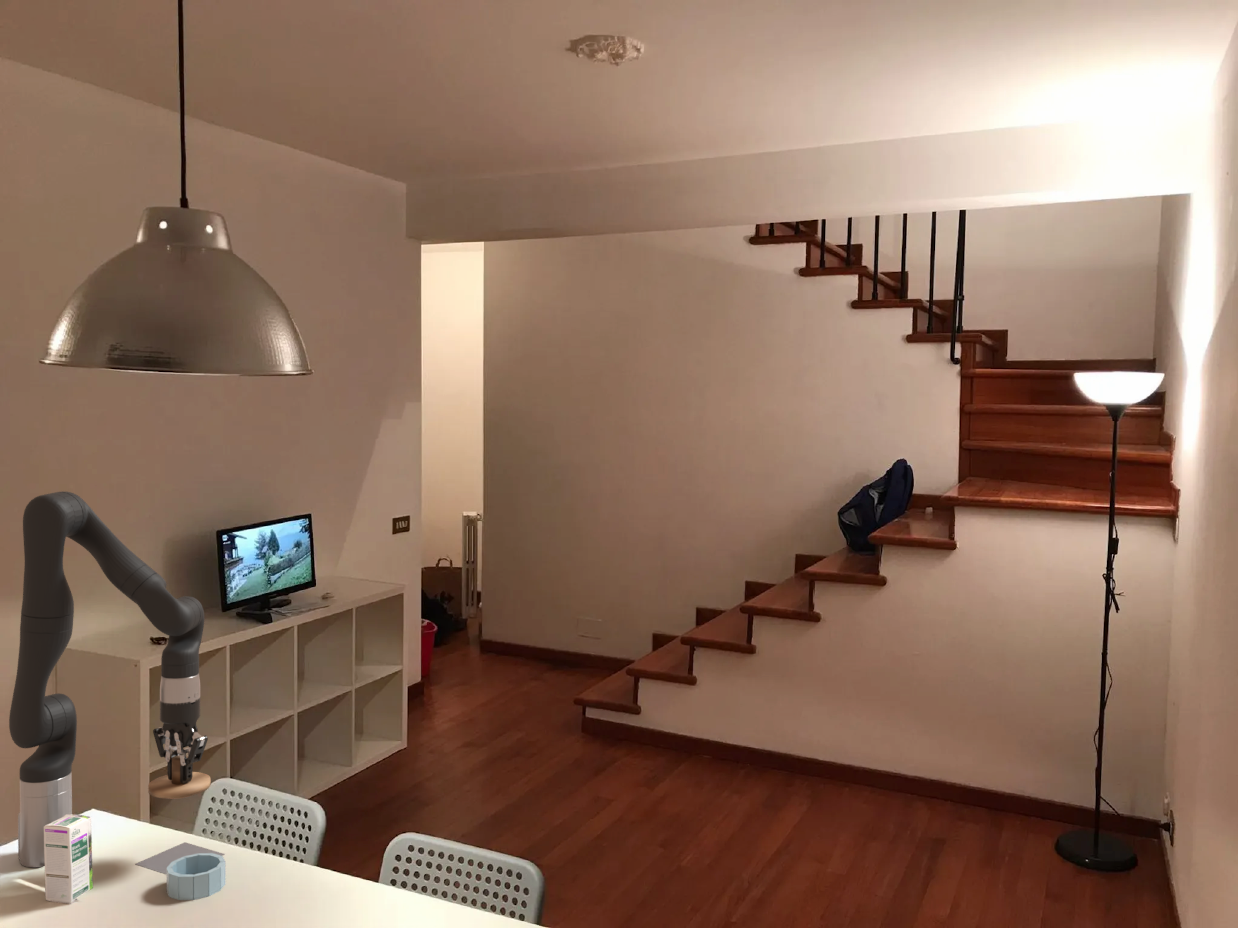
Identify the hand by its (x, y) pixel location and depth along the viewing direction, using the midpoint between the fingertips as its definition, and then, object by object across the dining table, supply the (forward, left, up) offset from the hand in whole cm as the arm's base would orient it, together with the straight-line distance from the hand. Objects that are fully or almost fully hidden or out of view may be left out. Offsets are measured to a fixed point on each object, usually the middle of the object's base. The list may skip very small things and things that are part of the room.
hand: (180, 779), depth 203 cm
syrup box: (-6, -20, -17) cm, 27 cm away
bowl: (+13, -7, -17) cm, 22 cm away
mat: (0, 0, -17) cm, 17 cm away
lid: (0, 0, -3) cm, 3 cm away
